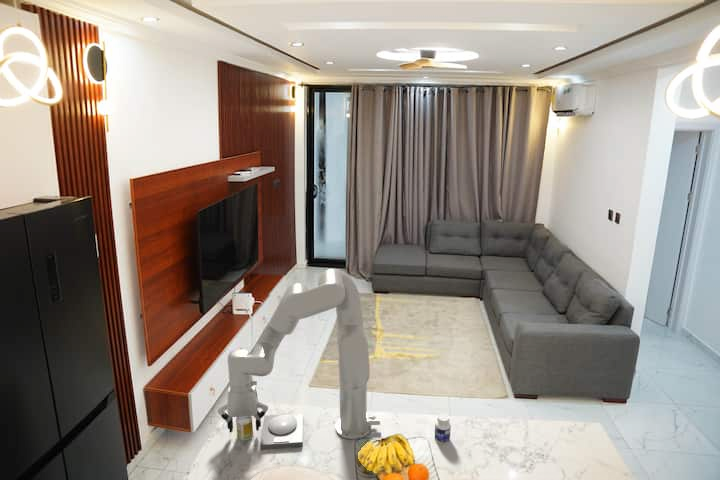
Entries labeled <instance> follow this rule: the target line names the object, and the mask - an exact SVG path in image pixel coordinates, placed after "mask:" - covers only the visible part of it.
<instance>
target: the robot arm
mask: <svg viewBox="0 0 720 480" xmlns="http://www.w3.org/2000/svg"><path fill="white" fill-rule="evenodd" d="M333 309H335V312H336V324H337V327H336V328H337V329H336V330H337V331H336V338H337V349H338V377H339V378H338V380H339V381H338V382H339V419H338V421H336V424H335V430H336V431H335V432H336V433H337V434H338V436H340V437H341V438H344V439H347V440H359V439H358V438H360V439H362V438H365V437H366V436H368V435H369V434H370V432H371V430H372V426H373V425H374V426H380V425H381V420H380V418H377V417H376V415H368V409H367V408H368V407H367V406H368V401H367V400H368V399H367V397H368V394H367V393H368V382H369V380H370V375H371V374H370V373H371V372H370V371H371V370H370V356H369V355H370V352H369V345H368V344H369V342H368V338H367V334H366V330H365V327H364V321H363V309H362V301H361V296H360V293H359V289H358V287H357V285H356V283H355V282H354V280H353V279H352V278H351V277H350V276H349V275H348V274H347V273H345V272H344V271H342V270H340V269H337V268H328V269H326V270H324V271H322V272H321V274H320V275H319V278H318V281H317V286H316V287H315V286H314V287H313V288H310V289H309V288H308V287H307V286H306V285H305V284H303V283H299V282H298V283H297V282H295V283H292V284H290V286H289V287H287V289H286V290H285V292H284V293H283V295H282V297H281V300H280V301H279V303H278V305H277V306H276V309H275V310H274V312H273V314H272V316H271V317H270V319H269V321H268V323H266V326H265V327H264V329H263V331H262V332H261V334H260V336H259V338H258V340H257V342H256V343H255V345H254V347H253V349H252V354H251V353H250V351H249V350H248V349H245V348H238V349H234V350H232V351H230V352H229V353H228V356H227V366H228V380H229V382H228V383H229V387H228V389H227V402H226V404H224V405H223V406H220V407H219V408H218V410H217V413H218V414H219V415H220V416H221V419H223V420H224V421H225V422H226V423H227V424H226V425H227V429H228V430H229V433H232V432H233V429H234V422H233V420H234V419H233V418H237V417H244V416H251V417H254V418H255V430H256V431H257V432H258V431H259V430H260V429H259V428H260V427H261V425H262V422H261V419H262V418H264V416H266V413H267V411H268V410H269V406H268V405H267V404H264V403H262V402H260V401H259V398H258V392H257V388H256V386H257V385H258V381H257V380H254V378H253V376H256V377H266V376H268V375H270V374H271V372H272V371H273V369H274V363H275V355H276V352H277V350H278V348H279V346H280V345H281V343H282V341H283V339H284V338H285V337H286V336H288V335H291V334H293V333H294V331H295V329H296V327H297V326H298V323H299V322H300V320H302V319H303V320H304V319H306V318H310V317H313V316H316V315H319V314H321V313H324V312H327V311H330V310H333ZM258 409H261V411H259V410H258ZM225 411H227V413H226V412H225Z"/></svg>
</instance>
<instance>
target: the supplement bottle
mask: <svg viewBox="0 0 720 480" xmlns="http://www.w3.org/2000/svg"><path fill="white" fill-rule="evenodd" d="M235 418H236V419H235V423H236V424H235V426H236V434H237V435H236V436H237V439H238V440H240V441H247V440H250V439H252V438H253V435H254V428H253V427H254V426H253V416H244V417H235Z"/></svg>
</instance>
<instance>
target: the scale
mask: <svg viewBox="0 0 720 480" xmlns="http://www.w3.org/2000/svg"><path fill="white" fill-rule="evenodd" d="M303 433H304V413H303V412H301V413H300V412H299V413H286V414H285V413H284V414H269V415H266V414H265V415H264V416H263V422H262V430H261V437H260V442H259V444H260V445H259V447H260V448H259V449H260V451H263V450H264V451H266V450H278V449H279V450H280V449H294V448H303V447H304V446H303V443H304V441H303V439H304V434H303Z"/></svg>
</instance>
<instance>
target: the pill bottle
mask: <svg viewBox="0 0 720 480" xmlns="http://www.w3.org/2000/svg"><path fill="white" fill-rule="evenodd" d="M451 428H452V426H451V422H450V416H449V415H448V414H446V413H440V414H438V415H437V420H436V421H435V423H434V440H435V441H436V442H437V443H438V444H441V445H445V444H448V443H449V442H450V441H451V431H452V430H451Z"/></svg>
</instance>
